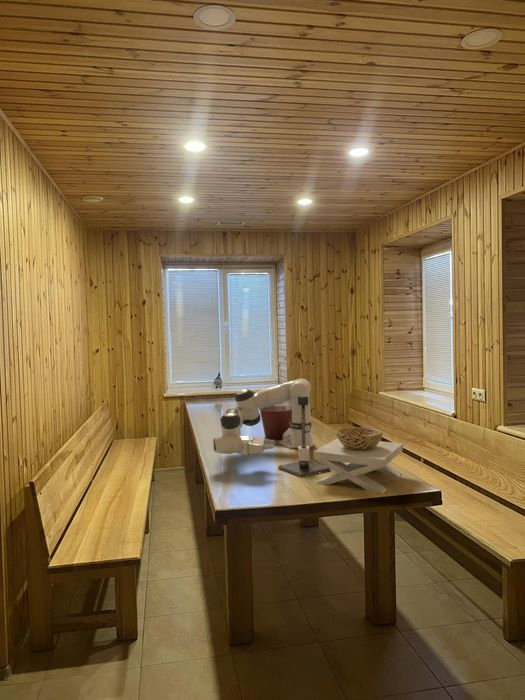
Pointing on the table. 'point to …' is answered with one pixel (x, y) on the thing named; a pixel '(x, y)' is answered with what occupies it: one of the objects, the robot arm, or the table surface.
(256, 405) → the robot arm
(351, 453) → the white table with basket
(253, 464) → the table surface
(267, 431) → the bucket
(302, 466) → the rod stand
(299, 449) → the sleeve
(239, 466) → the table surface
